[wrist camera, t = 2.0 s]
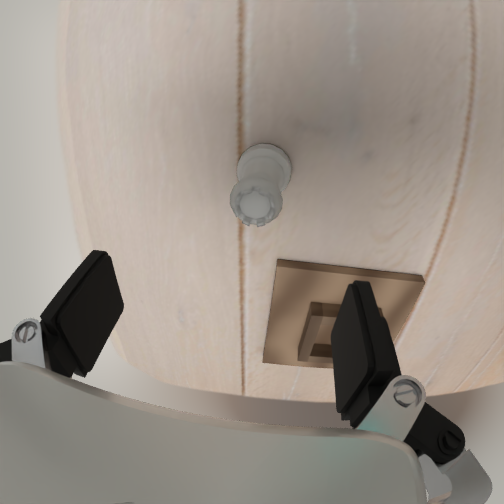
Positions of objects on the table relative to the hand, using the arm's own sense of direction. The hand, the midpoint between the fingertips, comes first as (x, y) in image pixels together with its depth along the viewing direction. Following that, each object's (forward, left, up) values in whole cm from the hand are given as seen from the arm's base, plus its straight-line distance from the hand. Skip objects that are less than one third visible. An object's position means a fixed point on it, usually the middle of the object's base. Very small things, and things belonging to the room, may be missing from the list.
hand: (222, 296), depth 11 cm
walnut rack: (-10, +17, -15) cm, 25 cm away
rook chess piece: (0, 0, -16) cm, 16 cm away
